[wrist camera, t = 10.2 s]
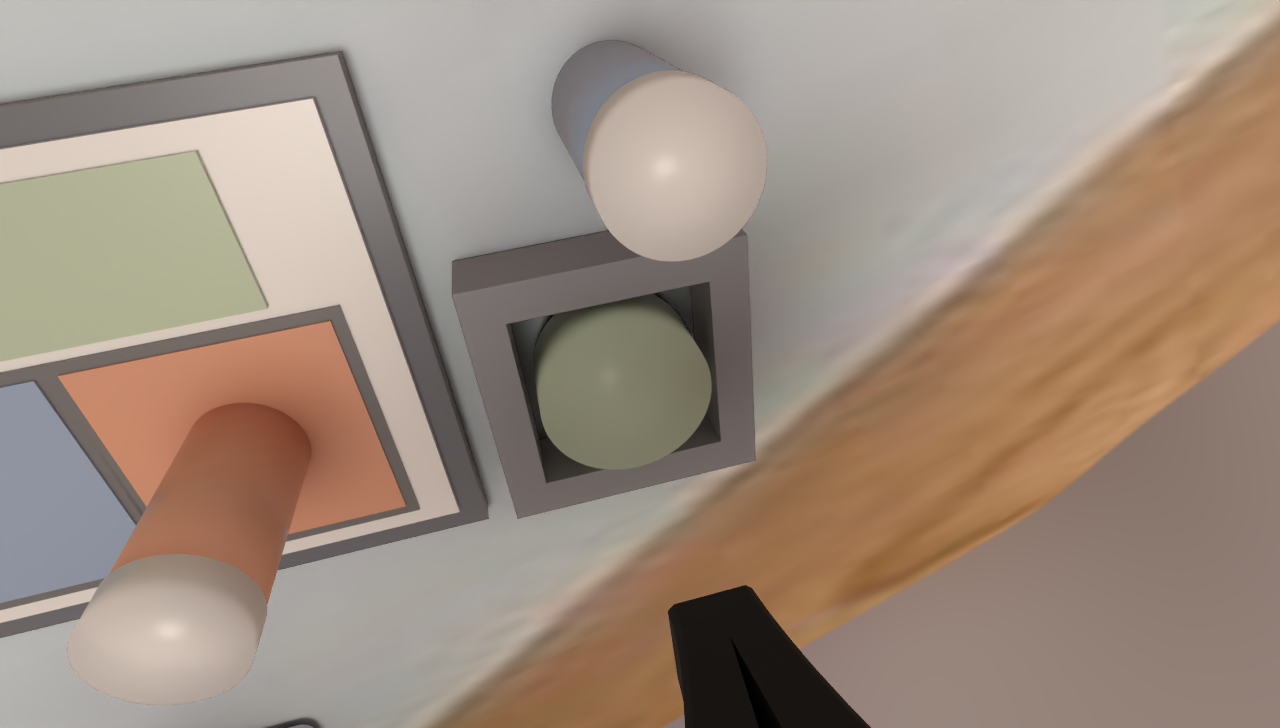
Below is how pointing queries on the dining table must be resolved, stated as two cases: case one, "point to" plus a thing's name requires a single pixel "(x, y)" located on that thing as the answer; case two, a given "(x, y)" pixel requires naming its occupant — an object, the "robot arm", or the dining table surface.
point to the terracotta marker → (197, 564)
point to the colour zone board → (207, 320)
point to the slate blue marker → (659, 150)
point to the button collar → (584, 279)
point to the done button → (620, 382)
